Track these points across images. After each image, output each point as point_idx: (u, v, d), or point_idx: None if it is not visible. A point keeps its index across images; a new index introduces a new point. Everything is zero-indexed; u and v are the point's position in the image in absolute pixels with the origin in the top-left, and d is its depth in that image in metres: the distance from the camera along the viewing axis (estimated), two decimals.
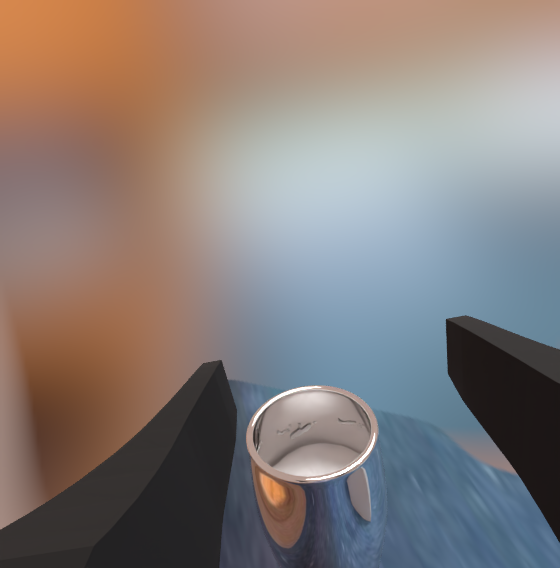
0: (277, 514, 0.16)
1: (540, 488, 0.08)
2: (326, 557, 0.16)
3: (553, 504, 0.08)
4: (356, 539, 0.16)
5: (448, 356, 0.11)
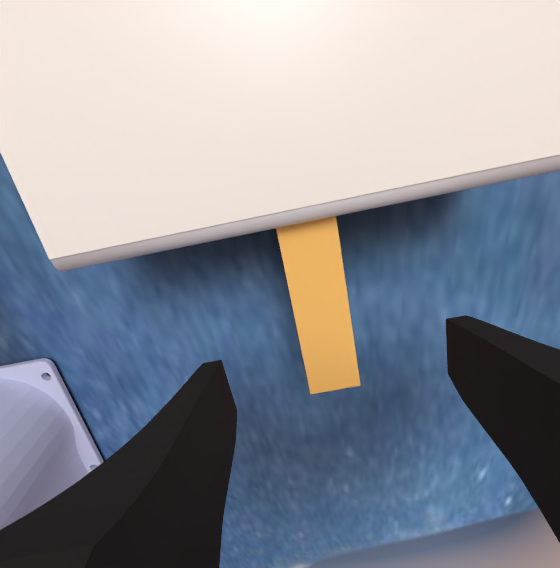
0: None
1: (540, 488, 0.08)
2: None
3: (553, 504, 0.08)
4: None
5: (448, 356, 0.11)
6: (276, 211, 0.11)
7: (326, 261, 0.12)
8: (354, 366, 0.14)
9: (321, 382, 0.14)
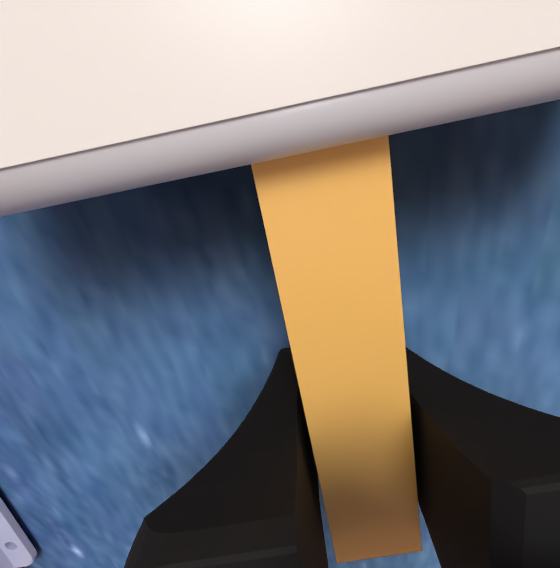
0: None
1: (424, 506, 0.08)
2: None
3: (432, 522, 0.08)
4: None
5: None
6: (246, 111, 0.04)
7: (376, 364, 0.07)
8: (414, 524, 0.08)
9: (356, 547, 0.08)
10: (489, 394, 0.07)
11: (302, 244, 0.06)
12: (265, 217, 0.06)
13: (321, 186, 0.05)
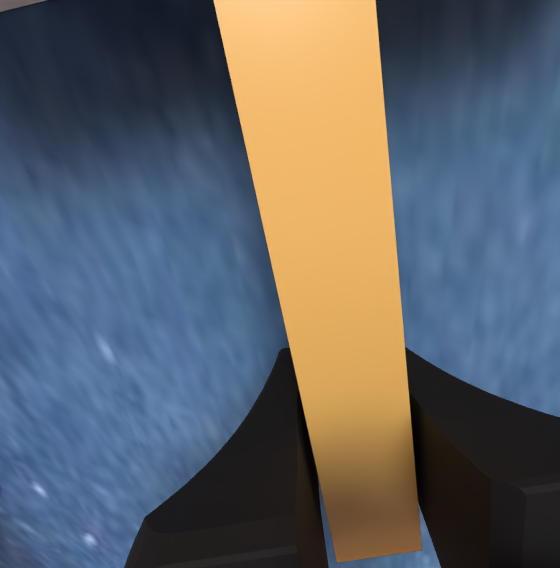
0: None
1: (424, 506, 0.08)
2: None
3: (431, 522, 0.08)
4: None
5: None
6: None
7: (375, 363, 0.07)
8: (414, 524, 0.08)
9: (356, 546, 0.08)
10: (489, 394, 0.07)
11: (302, 244, 0.06)
12: (264, 217, 0.06)
13: (319, 185, 0.05)
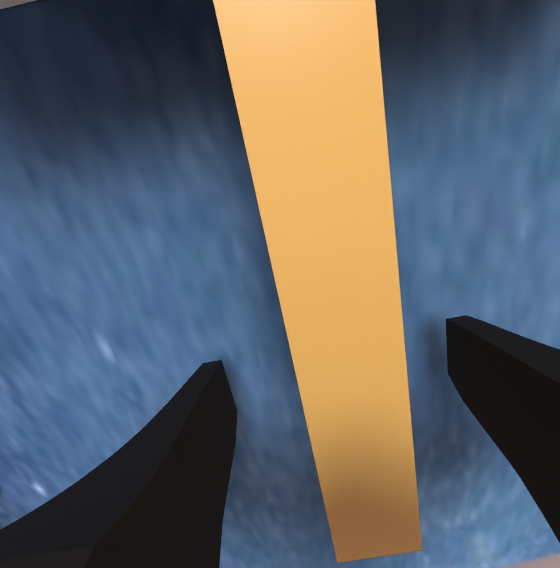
0: None
1: (540, 488, 0.08)
2: None
3: (553, 504, 0.08)
4: None
5: (448, 356, 0.11)
6: None
7: (376, 363, 0.07)
8: (414, 524, 0.08)
9: (356, 546, 0.08)
10: None
11: (302, 244, 0.06)
12: (264, 217, 0.06)
13: (319, 185, 0.05)
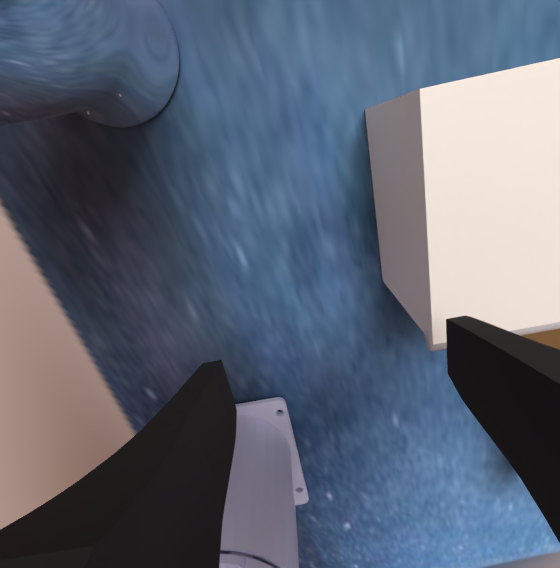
0: None
1: (540, 488, 0.08)
2: None
3: (553, 504, 0.08)
4: None
5: (448, 356, 0.11)
6: None
7: None
8: None
9: None
10: None
11: None
12: None
13: None
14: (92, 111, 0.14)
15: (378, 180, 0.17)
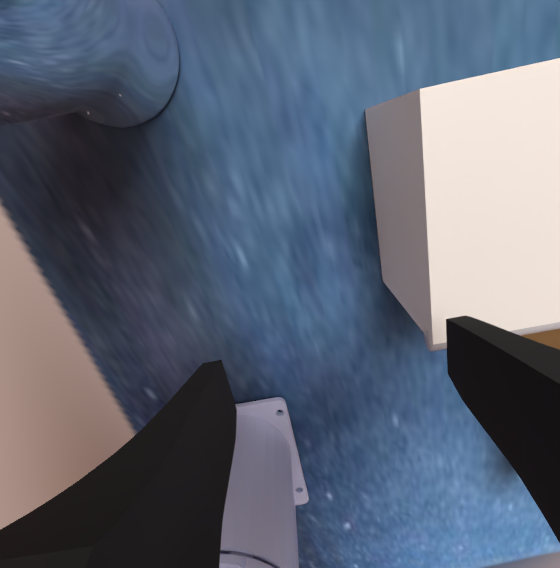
0: None
1: (540, 488, 0.08)
2: None
3: (553, 504, 0.08)
4: None
5: (448, 356, 0.11)
6: None
7: None
8: None
9: None
10: None
11: None
12: None
13: None
14: (92, 111, 0.14)
15: (378, 180, 0.17)
